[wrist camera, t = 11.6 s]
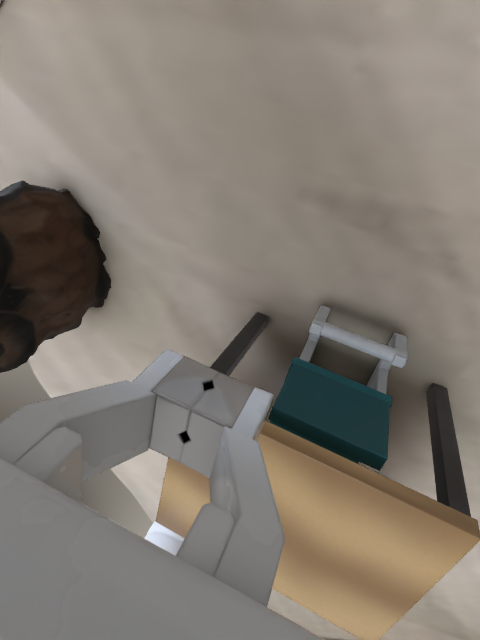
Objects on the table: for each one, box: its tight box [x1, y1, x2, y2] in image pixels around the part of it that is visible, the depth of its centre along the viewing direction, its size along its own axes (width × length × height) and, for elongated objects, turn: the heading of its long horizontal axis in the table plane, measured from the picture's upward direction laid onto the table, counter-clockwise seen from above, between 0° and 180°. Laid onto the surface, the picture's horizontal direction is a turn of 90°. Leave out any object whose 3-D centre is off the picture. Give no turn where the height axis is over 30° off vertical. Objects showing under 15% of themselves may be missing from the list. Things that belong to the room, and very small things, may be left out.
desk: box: [156, 312, 480, 640], centre depth 31 cm, size 14×18×14 cm
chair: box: [268, 305, 408, 470], centre depth 30 cm, size 12×8×12 cm, turn 166°
